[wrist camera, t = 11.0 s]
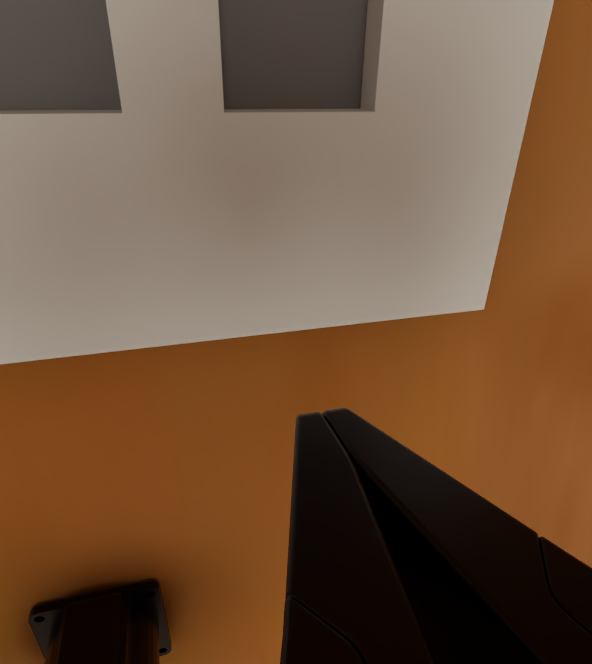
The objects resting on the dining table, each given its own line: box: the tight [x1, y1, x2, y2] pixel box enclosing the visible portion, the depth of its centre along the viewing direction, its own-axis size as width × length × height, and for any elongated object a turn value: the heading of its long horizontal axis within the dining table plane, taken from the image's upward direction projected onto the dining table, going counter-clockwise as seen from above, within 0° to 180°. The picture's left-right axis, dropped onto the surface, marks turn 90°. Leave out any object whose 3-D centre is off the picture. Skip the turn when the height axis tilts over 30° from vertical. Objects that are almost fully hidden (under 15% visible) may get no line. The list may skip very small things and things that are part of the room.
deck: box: [0, 0, 554, 364], centre depth 14 cm, size 13×28×4 cm, turn 89°
